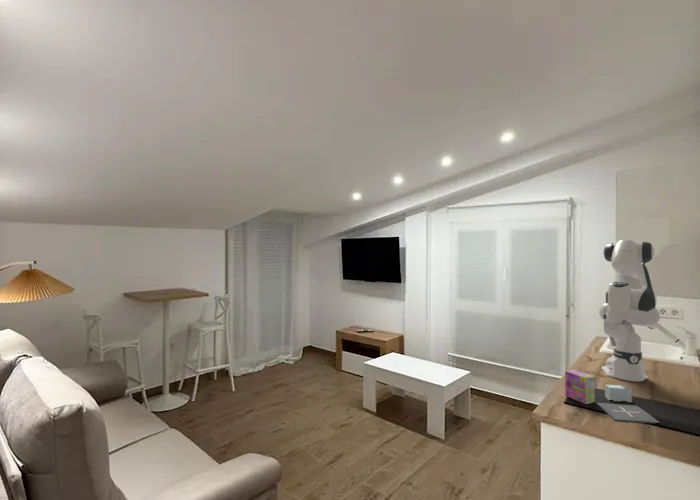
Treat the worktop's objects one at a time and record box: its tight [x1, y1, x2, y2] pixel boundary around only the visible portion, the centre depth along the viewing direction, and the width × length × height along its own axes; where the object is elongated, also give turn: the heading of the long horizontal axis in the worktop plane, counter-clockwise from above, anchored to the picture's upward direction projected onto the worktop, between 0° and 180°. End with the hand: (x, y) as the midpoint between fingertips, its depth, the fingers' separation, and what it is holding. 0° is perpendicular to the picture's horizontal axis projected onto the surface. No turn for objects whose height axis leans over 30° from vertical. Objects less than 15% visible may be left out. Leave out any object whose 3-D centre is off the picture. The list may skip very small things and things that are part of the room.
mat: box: [595, 402, 661, 424], centre depth 160 cm, size 16×16×1 cm
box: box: [564, 369, 596, 405], centre depth 174 cm, size 10×6×12 cm, turn 21°
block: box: [604, 384, 633, 403], centre depth 174 cm, size 4×9×6 cm, turn 80°
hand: (618, 348), depth 173 cm, fingers open, 8 cm apart
